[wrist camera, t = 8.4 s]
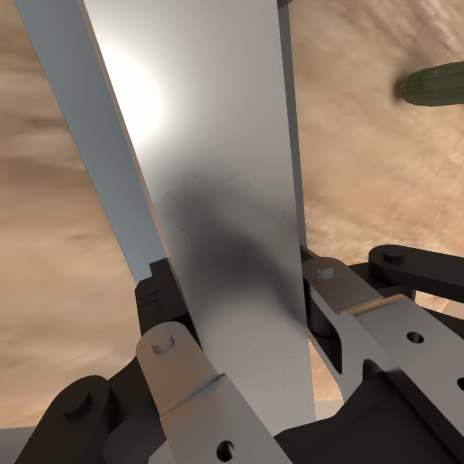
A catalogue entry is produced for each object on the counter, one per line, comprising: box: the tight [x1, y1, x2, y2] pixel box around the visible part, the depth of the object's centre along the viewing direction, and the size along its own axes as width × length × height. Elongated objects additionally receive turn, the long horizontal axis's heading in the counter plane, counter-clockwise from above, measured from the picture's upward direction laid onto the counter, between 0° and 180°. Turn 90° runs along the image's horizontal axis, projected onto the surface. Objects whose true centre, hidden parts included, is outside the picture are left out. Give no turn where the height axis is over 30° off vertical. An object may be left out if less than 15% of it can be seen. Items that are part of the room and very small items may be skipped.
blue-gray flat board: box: [14, 0, 166, 285], centre depth 24 cm, size 38×9×1 cm, turn 12°
